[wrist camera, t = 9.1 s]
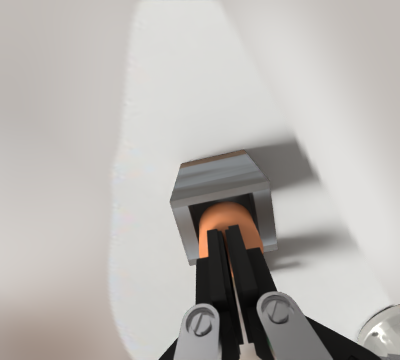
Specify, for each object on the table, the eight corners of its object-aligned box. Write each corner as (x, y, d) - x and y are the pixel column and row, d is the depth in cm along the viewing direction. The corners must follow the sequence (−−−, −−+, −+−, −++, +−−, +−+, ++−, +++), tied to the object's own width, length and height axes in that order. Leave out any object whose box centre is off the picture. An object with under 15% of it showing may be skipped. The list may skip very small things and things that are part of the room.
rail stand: (263, 272, 25) (290, 347, 18) (213, 281, 26) (218, 357, 18) (243, 149, 20) (269, 181, 12) (181, 163, 20) (169, 201, 13)
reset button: (255, 241, 14) (267, 271, 12) (205, 251, 15) (206, 281, 12) (248, 196, 13) (259, 218, 11) (193, 207, 13) (192, 231, 11)
